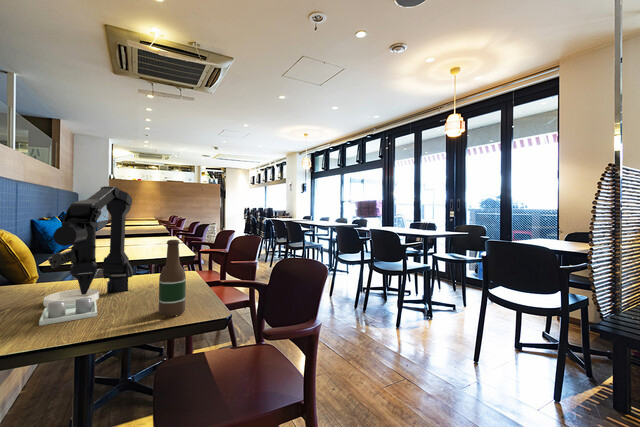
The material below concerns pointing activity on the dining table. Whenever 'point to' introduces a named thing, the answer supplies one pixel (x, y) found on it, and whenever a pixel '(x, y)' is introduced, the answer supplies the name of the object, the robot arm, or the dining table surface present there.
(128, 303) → the dining table surface
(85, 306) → the grey rounded cylinder
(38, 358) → the dining table surface
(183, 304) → the beer bottle
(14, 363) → the dining table surface
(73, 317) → the tray
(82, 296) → the bowl
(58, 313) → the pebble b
